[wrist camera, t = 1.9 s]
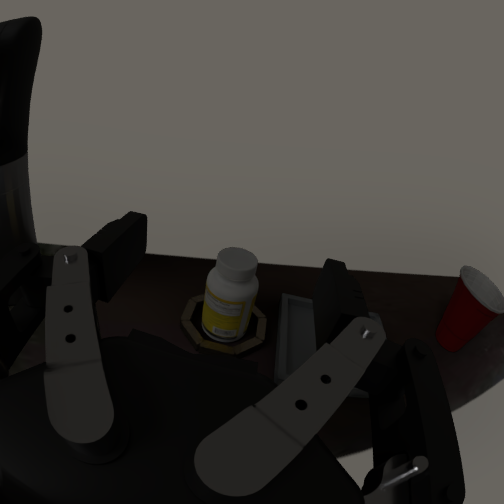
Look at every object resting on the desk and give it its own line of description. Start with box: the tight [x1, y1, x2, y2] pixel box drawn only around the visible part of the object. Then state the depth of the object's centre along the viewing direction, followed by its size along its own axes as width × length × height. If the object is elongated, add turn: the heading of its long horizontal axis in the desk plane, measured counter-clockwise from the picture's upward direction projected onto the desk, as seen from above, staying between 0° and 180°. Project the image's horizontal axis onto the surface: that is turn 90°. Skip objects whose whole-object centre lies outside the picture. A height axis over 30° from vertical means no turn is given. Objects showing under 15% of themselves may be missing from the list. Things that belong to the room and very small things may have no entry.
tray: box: [274, 293, 387, 398], centre depth 32 cm, size 15×14×2 cm
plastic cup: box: [435, 266, 504, 352], centre depth 34 cm, size 11×11×12 cm
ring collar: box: [180, 294, 267, 359], centre depth 32 cm, size 10×10×1 cm
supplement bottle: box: [202, 247, 259, 342], centre depth 30 cm, size 5×5×10 cm
